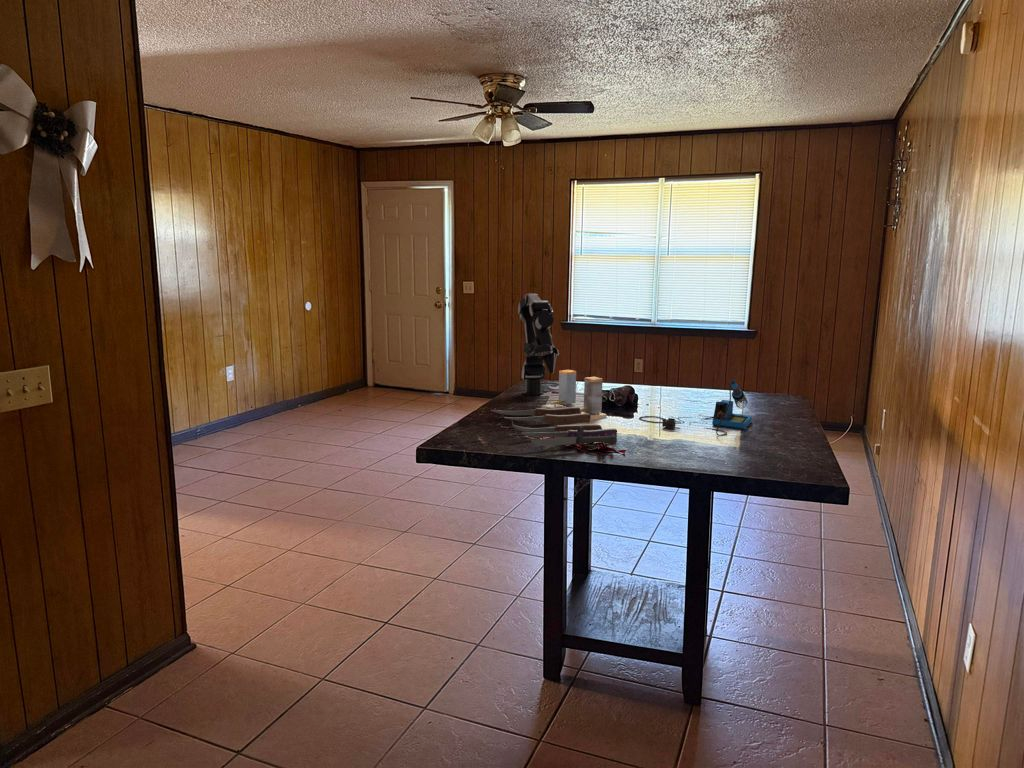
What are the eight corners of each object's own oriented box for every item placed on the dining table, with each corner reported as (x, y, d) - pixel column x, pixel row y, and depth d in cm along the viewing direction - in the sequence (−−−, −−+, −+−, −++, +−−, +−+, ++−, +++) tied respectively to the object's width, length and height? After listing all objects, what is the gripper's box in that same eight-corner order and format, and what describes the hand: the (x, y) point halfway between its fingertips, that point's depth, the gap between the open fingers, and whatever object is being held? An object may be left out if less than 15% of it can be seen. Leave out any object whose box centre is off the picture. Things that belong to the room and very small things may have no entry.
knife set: (488, 423, 230) (489, 400, 229) (579, 421, 241) (581, 399, 240) (524, 455, 198) (526, 429, 196) (627, 451, 209) (630, 426, 207)
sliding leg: (547, 405, 254) (547, 372, 251) (567, 402, 259) (568, 369, 257) (554, 408, 250) (555, 373, 248) (575, 404, 256) (576, 371, 253)
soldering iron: (628, 425, 235) (631, 371, 231) (657, 407, 262) (660, 359, 258) (735, 440, 218) (740, 383, 215) (754, 420, 245) (759, 368, 242)
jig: (541, 408, 257) (542, 371, 254) (564, 405, 263) (565, 369, 260) (582, 421, 238) (583, 381, 236) (606, 417, 244) (607, 378, 242)
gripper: (527, 341, 274) (536, 380, 272) (516, 335, 256) (526, 377, 254) (554, 334, 271) (564, 373, 270) (545, 327, 253) (555, 369, 251)
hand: (552, 373), depth 261 cm, fingers closed
